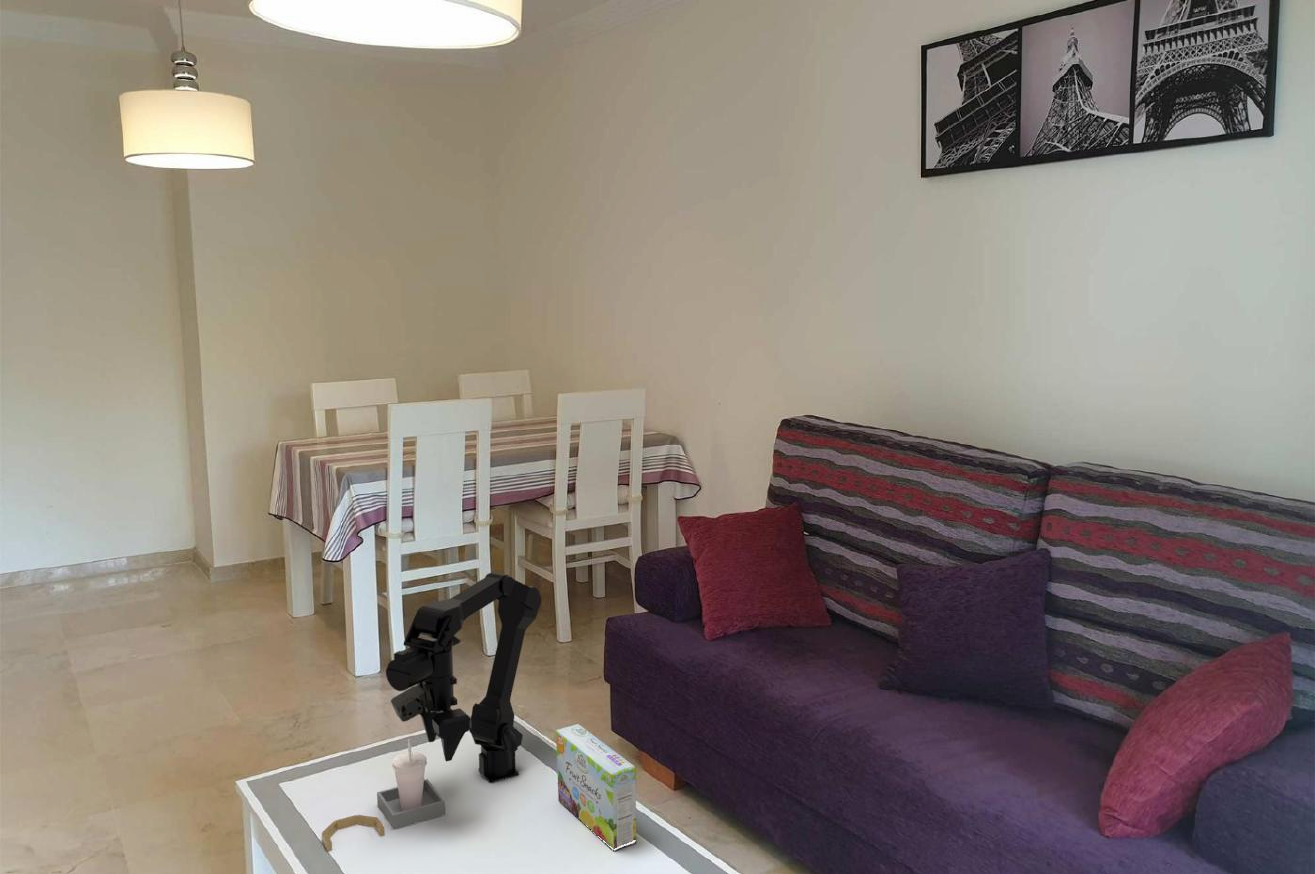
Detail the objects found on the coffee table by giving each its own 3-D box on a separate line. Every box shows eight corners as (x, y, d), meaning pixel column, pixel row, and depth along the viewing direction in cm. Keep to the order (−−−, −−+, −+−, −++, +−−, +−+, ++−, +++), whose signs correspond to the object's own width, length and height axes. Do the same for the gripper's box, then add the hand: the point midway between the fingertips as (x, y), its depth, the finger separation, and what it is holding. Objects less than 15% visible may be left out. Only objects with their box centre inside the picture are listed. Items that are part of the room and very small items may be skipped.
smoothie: (397, 818, 188) (394, 748, 186) (391, 803, 194) (388, 734, 191) (432, 811, 191) (429, 741, 188) (424, 795, 196) (421, 728, 194)
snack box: (555, 802, 195) (554, 728, 193) (580, 794, 199) (579, 721, 196) (612, 853, 178) (611, 773, 176) (638, 843, 181) (638, 764, 179)
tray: (427, 792, 199) (427, 778, 199) (445, 814, 191) (445, 800, 190) (377, 805, 194) (376, 792, 193) (393, 829, 185) (392, 815, 185)
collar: (373, 817, 189) (373, 810, 189) (384, 834, 184) (384, 827, 183) (317, 832, 184) (317, 825, 184) (327, 851, 178) (327, 843, 178)
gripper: (379, 664, 192) (382, 741, 194) (411, 698, 176) (414, 782, 178) (436, 653, 198) (438, 728, 200) (471, 685, 182) (473, 766, 184)
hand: (439, 750), depth 190 cm, fingers open, 9 cm apart
